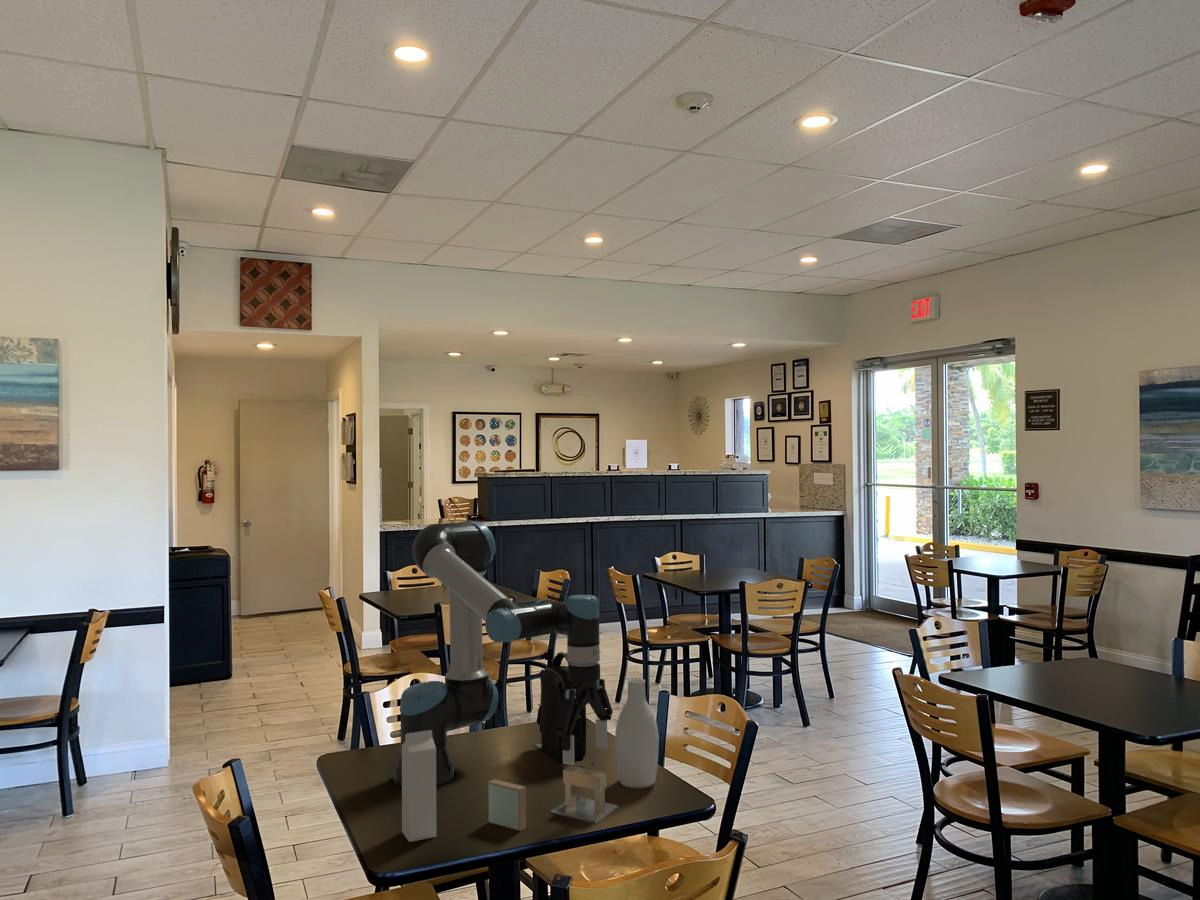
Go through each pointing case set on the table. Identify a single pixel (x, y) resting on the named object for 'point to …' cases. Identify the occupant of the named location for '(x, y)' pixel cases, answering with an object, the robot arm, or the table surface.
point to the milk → (419, 786)
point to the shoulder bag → (549, 711)
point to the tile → (507, 804)
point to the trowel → (584, 806)
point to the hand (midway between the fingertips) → (585, 756)
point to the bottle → (636, 739)
